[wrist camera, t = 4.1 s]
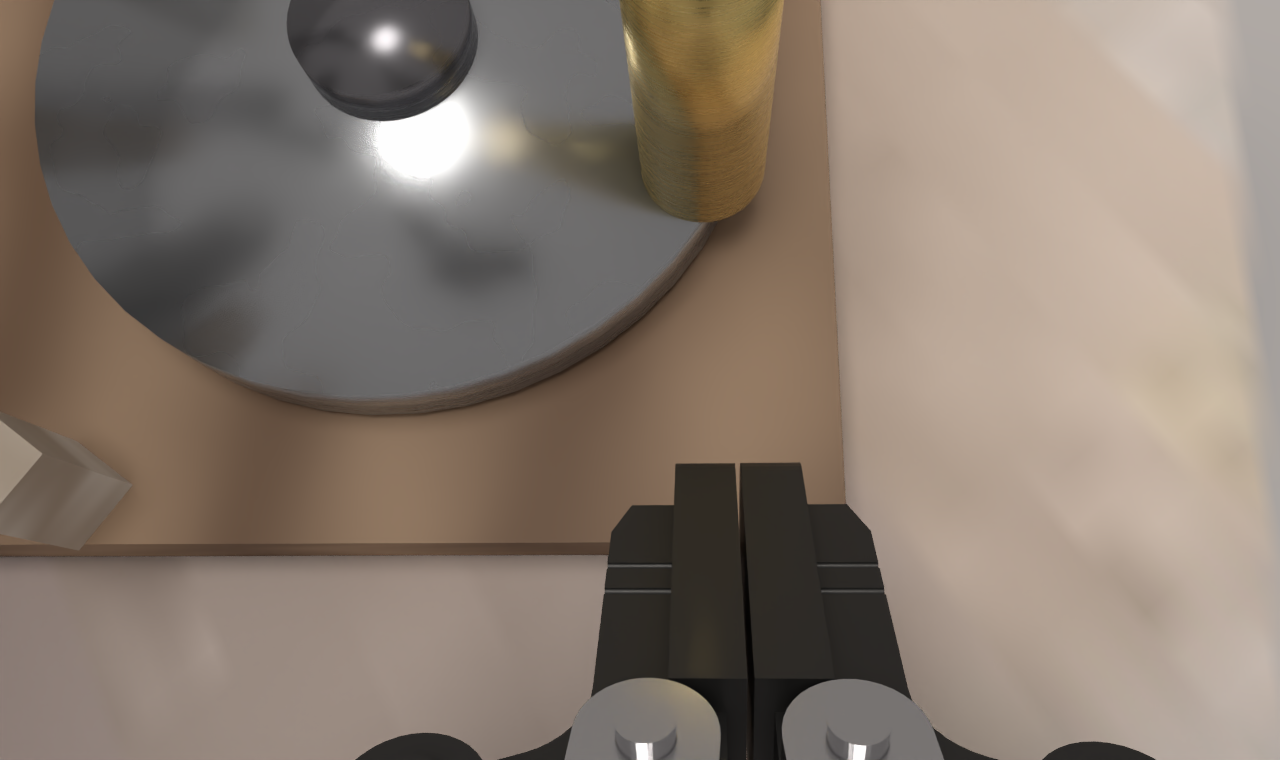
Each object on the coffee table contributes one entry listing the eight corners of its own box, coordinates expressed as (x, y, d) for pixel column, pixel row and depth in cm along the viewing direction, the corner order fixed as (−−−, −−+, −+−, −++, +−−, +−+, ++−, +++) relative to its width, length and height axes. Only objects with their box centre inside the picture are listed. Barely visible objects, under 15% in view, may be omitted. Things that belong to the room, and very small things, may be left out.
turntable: (-171, 562, 23) (-400, 531, 18) (-12, -180, 29) (-155, -352, 24) (835, 560, 22) (871, 525, 17) (798, -218, 27) (818, -408, 23)
